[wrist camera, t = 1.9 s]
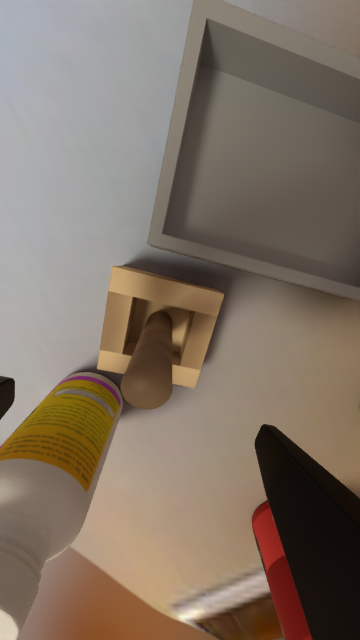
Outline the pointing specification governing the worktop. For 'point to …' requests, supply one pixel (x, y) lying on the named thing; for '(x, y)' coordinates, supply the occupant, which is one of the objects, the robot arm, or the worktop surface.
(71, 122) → the worktop surface
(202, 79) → the tray
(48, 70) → the worktop surface
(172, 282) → the holder
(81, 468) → the supplement bottle
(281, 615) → the canned food
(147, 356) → the pin
